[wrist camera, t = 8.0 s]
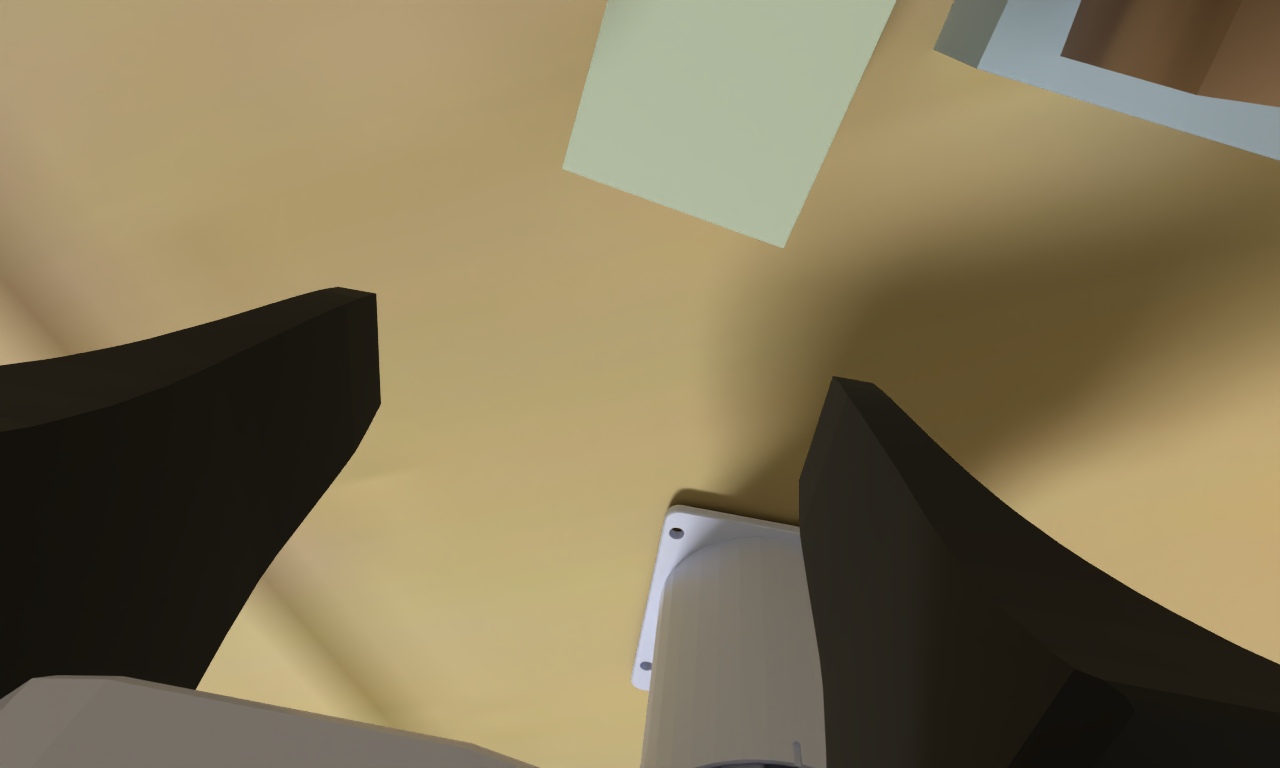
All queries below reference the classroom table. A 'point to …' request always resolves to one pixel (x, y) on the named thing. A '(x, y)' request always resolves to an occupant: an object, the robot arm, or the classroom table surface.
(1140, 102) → the base block
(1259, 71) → the walnut cube
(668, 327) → the classroom table surface
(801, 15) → the sage cube
